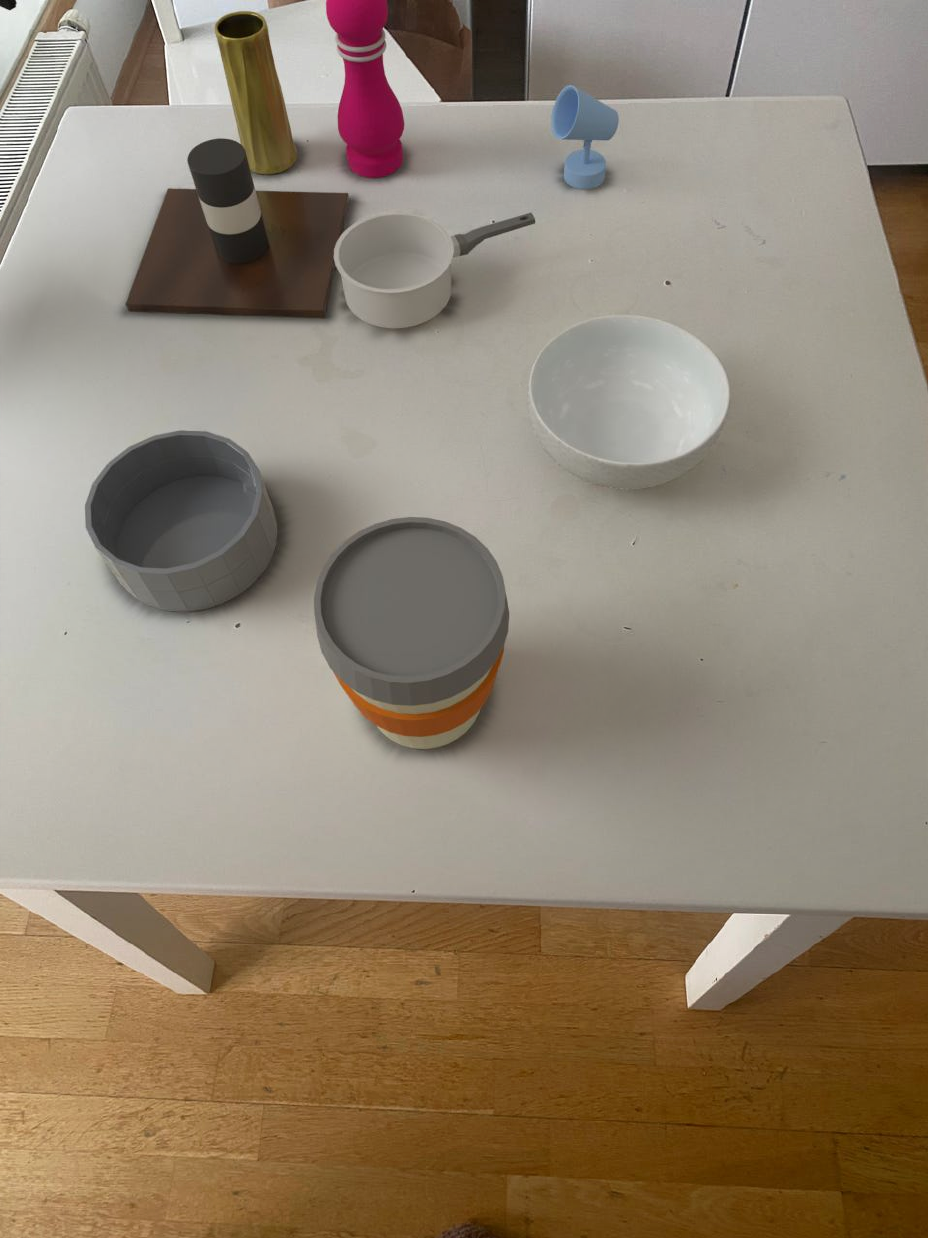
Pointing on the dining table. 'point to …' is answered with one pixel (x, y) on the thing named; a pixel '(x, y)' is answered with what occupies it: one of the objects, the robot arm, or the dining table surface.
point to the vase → (255, 92)
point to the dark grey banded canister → (228, 200)
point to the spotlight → (583, 134)
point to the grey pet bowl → (182, 520)
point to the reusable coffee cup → (413, 627)
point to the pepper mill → (366, 88)
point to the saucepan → (404, 265)
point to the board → (269, 286)
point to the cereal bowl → (627, 400)
